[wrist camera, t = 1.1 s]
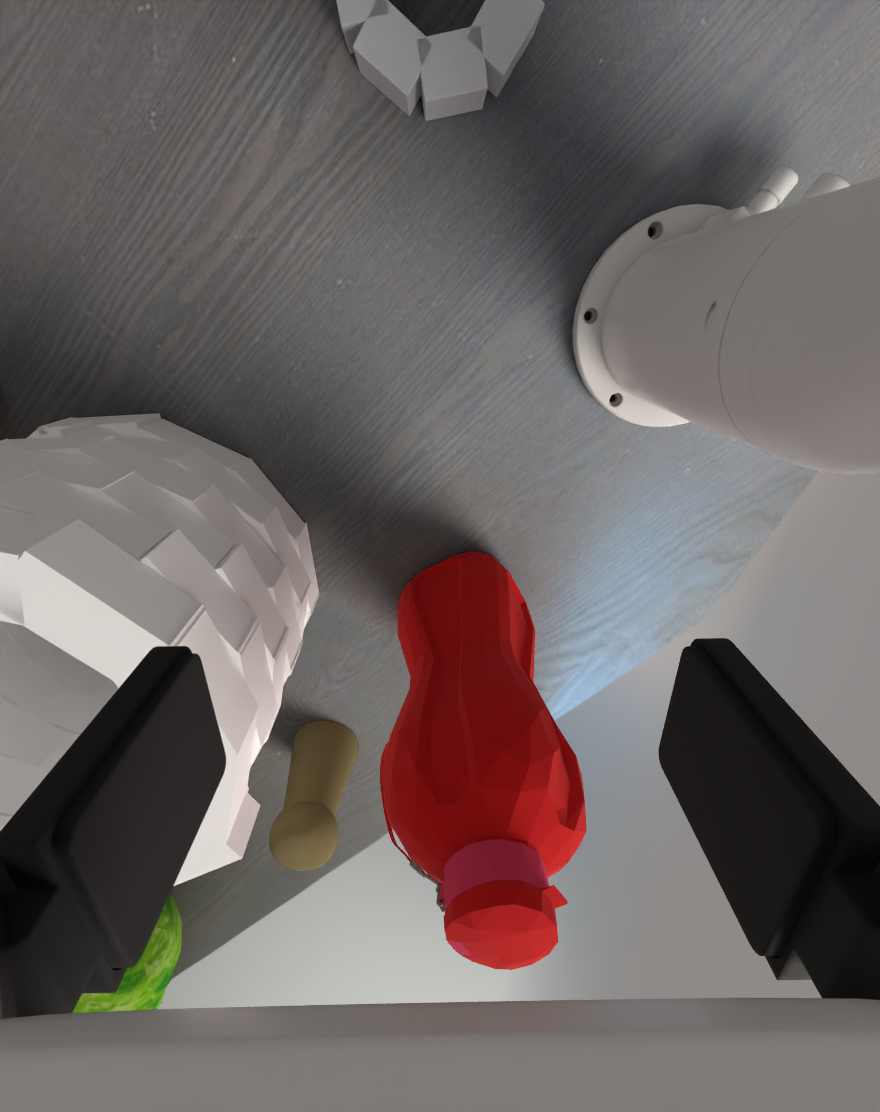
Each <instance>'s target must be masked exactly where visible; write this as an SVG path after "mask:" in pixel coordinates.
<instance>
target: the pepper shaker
mask: <svg viewBox="0 0 880 1112" xmlns="http://www.w3.org/2000/svg"><path fill="white" fill-rule="evenodd" d="M357 752H358V741H357V738H356V736H355V735H354V734H353V732H352V731H351V730H350V729H348V728H347V727H345V726H344V725H342V724H339V723H337V722H334V721H325V720H321V721H314V722H311V723H308V724H306V725H304V726H303V727H302V728H300V729H299V730H298V731H297V733H296V735H295V737H294V742H293V749H292V756H291V763H290V770H289V777H288V784H287V791H286V798H285V805H284V810H283V811H282V812H280V813H279V815H278V816H277V818H276V819H275V821H274V823H273V825H272V828H271V831H270V837H269V847H270V850H271V853H272V855H273V857H274V859H275V860H276V861H277V862H278V863H279V864H281V865H283V866H285V867H287V868H290V869H294V870H311V869H315V868H318V867H320V866H322V865H323V864H324V863H326V862H327V861H328V860H329V859H330V857H331V856H332V854H333V852H334V850H335V848H336V846H337V841H338V824H337V821H336V819H335V817H336V814H337V811H338V808H339V805H340V802H341V799H342V796H343V793H344V790H345V787H346V784H347V782H348V779H349V776H350V773H351V770H352V767H353V764H354V761H355V758H356V755H357Z"/></svg>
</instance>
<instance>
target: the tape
mask: <svg viewBox="0 0 880 1112" xmlns="http://www.w3.org/2000/svg"><path fill="white" fill-rule="evenodd" d="M336 2H337V7H338V13H339V18H340V23H341V27H342V30H343V33H344V37H345V40H346V43H347V46H348V49H349V53H350V54H352V53H355V57H356V60H357V63H358V67H359V70H360V73H361V74H362V75H363V76H364V77H365V78H367V79H368V80H369V81H370V82H371V83H372V84H373V85H374V86H376V87H377V88H378V89H379V90H380V91H381V92H382V93H383V94H385V95H386V96H387V97H388V98H389V99H390V100H391V101H392V102H394V103H395V104H396V105H397V106H398V107H399V108H400V109H401V110H403V111H404V112H405V113H406V114H407V115H408V116H410V115H411V113H412V111H413V109H414V108H415V106H416V104H417V102H418V100H419V98H420V96H421V97H422V103H423V110H424V117H425V121H429V120H434V119H438V118H443V117H448V116H453V115H457V114H462V113H467V112H471V111H476V110H481V109H482V108H483V104H484V100H485V96H486V92H487V90H488V91H489V92H491V93H492V94H493V95H494V96H495V97H496V98H497V97H498V95H499V93H500V92H501V90H502V88H503V86H504V85H505V83H506V81H507V80H508V78H509V76H510V75H511V73H512V71H513V69H514V68H515V66H516V64H517V63H518V61H519V59H520V57H521V56H522V54H523V52H524V51H525V49H526V47H527V46H528V44H529V42H530V40H531V39H532V37H533V35H534V33H535V30H536V27H537V25H538V22H539V19H540V17H541V14H542V11H543V9H544V6H545V4H544V2H543V0H485V1H484V3H483V5H482V7H481V9H480V11H479V12H478V14H477V16H476V18H475V20H474V22H473V23H472V25H471V27H467V28H462V29H458V30H453V31H449V32H444V33H440V34H435V35H431V36H425V35H424V34H423V33H422V32H421V31H420V30H419V29H418V28H417V27H416V26H415V25H414V24H413V23H412V22H410V21H409V20H408V19H407V18H406V17H405V16H404V15H403V14H402V13H401V12H400V11H399V10H398V9H397V8H396V7H395V6H394V5H393V4H391V3H390V2H389V1H388V0H336Z"/></svg>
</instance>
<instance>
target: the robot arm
mask: <svg viewBox="0 0 880 1112" xmlns="http://www.w3.org/2000/svg"><path fill="white" fill-rule="evenodd" d="M797 183H798V176H797V174H796V173H795V172H794V171H793V170H792V169H791V168H789V167H786V166H778V167H777V168H776V169H775V171H774V172H773V173H772V174H771V176H770V177H769V178H768V179H767V181H766V182H765V183H764V184H763V185H762V187H761V188H760V189H759V190H758V194H757V195H756V196H755V197H754V199H753V200H752V201H751V202H750V204H749V205H748V206H747V207H745V206H741V207H738V208H735V209H732V210H728V209H725V208H723V207H720V206H714V205H705V204H692V205H683V206H676V207H673V208H670V209H667V210H664V211H661V212H659V213H656V214H654V215H652V216H650V217H647V218H645V219H643V220H641V221H640V222H638V223H637V224H635V225H634V226H632V227H631V228H630V229H628V230H627V231H625V232H624V233H622V234H621V235H620V236H619V237H618V238H617V239H616V240H615V241H614V242H613V243H612V244H611V245H610V246H609V247H608V248H607V249H606V250H605V252H604V253H603V254H602V256H601V257H600V259H599V260H598V261H597V263H596V264H595V265H594V267H593V268H592V270H591V272H590V274H589V276H588V278H587V280H586V282H585V284H584V286H583V288H582V291H581V294H580V297H579V300H578V303H577V306H576V309H575V316H574V323H573V352H574V356H575V361H576V365H577V369H578V372H579V374H580V376H581V379H582V381H583V383H584V385H585V387H586V388H587V389H588V391H589V392H590V394H591V395H592V396H593V398H594V399H595V400H596V401H597V402H598V403H599V404H600V405H601V406H603V407H604V408H605V409H606V410H607V411H609V412H611V413H612V414H614V415H615V416H617V417H619V418H621V419H624V420H626V421H628V422H631V423H633V424H638V425H643V426H648V427H668V426H674V425H679V424H684V423H687V422H690V421H691V422H694V423H696V424H698V425H701V426H703V427H706V428H708V429H710V430H713V431H715V432H717V433H720V434H722V435H724V436H727V437H729V438H731V439H734V440H736V441H738V442H741V443H743V444H746V445H748V446H750V447H753V448H755V449H757V450H760V451H762V452H764V453H767V454H770V455H773V456H775V457H778V458H780V459H783V460H785V461H788V462H790V463H793V464H795V465H798V466H801V467H804V468H808V469H812V470H816V471H821V472H826V473H834V474H867V473H877V472H880V177H879V178H875V179H872V180H869V181H865V182H862V183H859V184H855V185H852V186H850V185H849V183H848V182H847V181H846V180H845V179H843V178H842V177H841V176H839V175H836V174H833V173H825V174H823V175H821V176H820V177H819V178H818V179H817V180H816V182H815V183H814V184H813V185H812V186H811V187H810V189H809V190H808V191H807V192H806V193H805V195H804V196H803V197H802V198H801V199H800V201H798V202H795V203H791V204H788V205H784V206H781V207H778V208H775V207H777V206H778V205H779V204H780V203H781V202H782V201H783V200H784V198H785V197H786V196H787V195H788V193H789V192H790V191H791V190H792V189H793V187H794V186H795V185H796V184H797ZM650 227H651V228H652V229H653V235H652V236H651V237H649V235H648V228H650ZM587 311H588V312H590V314H591V317H590V319H589V320H585V318H584V315H585V313H586V312H587ZM613 394H614V395H615V399H614V400H613V401H612V402H610V401H609V399H610V397H611V395H613ZM659 760H660V764H661V767H662V769H663V771H664V773H665V775H666V777H667V779H668V781H669V783H670V785H671V787H672V789H673V791H674V793H675V795H676V797H677V799H678V801H679V803H680V805H681V807H682V809H683V811H684V813H685V815H686V817H687V819H688V821H689V823H690V825H691V827H692V829H693V831H694V833H695V835H696V837H697V839H698V841H699V843H700V845H701V847H702V849H703V851H704V853H705V855H706V857H707V859H708V861H709V863H710V865H711V867H712V869H713V871H714V873H715V875H716V877H717V879H718V881H719V883H720V885H721V887H722V889H723V891H724V893H725V895H726V897H727V899H728V901H729V903H730V905H731V907H732V909H733V911H734V913H735V915H736V917H737V919H738V921H739V923H740V925H741V927H742V929H743V931H744V933H745V935H746V937H747V939H748V941H749V943H750V945H751V947H752V948H753V950H754V951H755V952H756V953H757V954H759V955H760V956H765V957H766V959H767V961H768V963H769V965H770V967H771V969H772V970H773V973H774V975H775V977H776V979H777V980H811V979H812V981H813V983H814V985H815V986H816V988H817V990H818V992H819V993H820V995H821V997H822V998H702V999H632V1000H631V999H628V1000H627V999H625V1000H559V1001H558V1000H557V1001H502V1002H450V1003H398V1004H351V1005H350V1004H349V1005H313V1006H312V1005H308V1006H273V1007H272V1006H270V1007H230V1008H193V1009H192V1008H191V1009H190V1008H189V1009H156V1010H134V1011H112V1012H90V1013H72V1012H73V1010H74V1008H75V1006H76V1004H77V1002H78V1000H79V998H80V997H81V995H82V993H116V991H117V989H118V987H119V985H120V983H121V981H122V978H123V976H124V974H125V972H126V970H127V968H132V967H134V966H135V965H136V964H137V963H138V961H139V960H140V958H141V957H142V955H143V953H144V950H145V948H146V946H147V944H148V942H149V939H150V937H151V935H152V933H153V930H154V928H155V926H156V924H157V922H158V919H159V917H160V915H161V913H162V910H163V908H164V906H165V904H166V902H167V899H168V897H169V895H170V893H171V890H172V888H173V886H174V884H175V882H176V879H177V877H178V875H179V873H180V870H181V868H182V866H183V864H184V862H185V859H186V857H187V855H188V853H189V850H190V848H191V846H192V844H193V842H194V839H195V837H196V835H197V833H198V830H199V828H200V826H201V824H202V822H203V819H204V817H205V815H206V813H207V810H208V808H209V806H210V804H211V802H212V799H213V797H214V795H215V793H216V790H217V788H218V786H219V784H220V781H221V779H222V777H223V775H224V772H225V767H226V753H225V749H224V746H223V742H222V738H221V734H220V730H219V726H218V722H217V719H216V715H215V711H214V707H213V703H212V699H211V696H210V692H209V688H208V684H207V680H206V676H205V672H204V669H203V665H202V661H201V658H200V656H199V655H198V654H196V653H192V651H191V650H190V648H189V647H187V646H157V647H154V648H152V649H151V650H150V651H149V652H148V654H147V655H146V656H145V657H144V658H143V660H142V661H141V662H140V663H139V664H138V666H137V667H136V668H135V669H134V670H133V672H132V673H131V674H130V675H129V677H128V678H127V679H126V680H125V681H124V683H123V684H122V685H121V686H120V687H119V689H118V690H117V691H116V692H115V693H114V695H113V696H112V697H111V698H110V699H109V701H108V702H107V703H106V704H105V705H104V707H103V708H102V709H101V710H100V712H99V713H98V714H97V715H96V716H95V718H94V719H93V720H92V721H91V722H90V724H89V725H88V726H87V727H86V728H85V730H84V731H83V732H82V733H81V734H80V736H79V737H78V738H77V739H76V740H75V742H74V743H73V744H72V745H71V747H70V748H69V749H68V750H67V751H66V753H65V754H64V755H63V756H62V757H61V759H60V760H59V761H58V762H57V763H56V765H55V766H54V767H53V768H52V769H51V771H50V772H49V773H48V774H47V775H46V777H45V778H44V779H43V780H42V782H41V783H40V784H39V785H38V786H37V788H36V789H35V790H34V791H33V792H32V794H31V795H30V796H29V797H28V798H27V800H26V801H25V802H24V803H23V804H22V806H21V807H20V808H19V809H18V810H17V812H16V813H15V814H14V815H13V817H12V818H11V819H10V820H9V821H8V823H7V824H6V825H5V826H4V827H3V829H2V830H1V831H0V1112H880V806H879V805H878V804H877V803H876V802H875V801H874V799H873V798H871V796H870V795H869V794H868V793H867V792H866V790H865V789H864V788H863V787H862V786H861V785H860V784H859V783H858V782H857V780H856V779H855V778H854V777H853V776H852V775H851V774H850V773H849V772H848V771H847V769H846V768H845V767H844V766H843V765H842V764H841V763H840V762H839V760H838V759H837V758H836V757H835V756H834V755H833V754H832V753H831V752H830V750H829V749H828V748H827V747H826V746H825V745H824V744H823V743H822V742H821V741H820V740H819V738H818V737H817V736H816V735H815V734H814V733H813V732H812V731H811V729H810V728H809V727H808V726H807V725H806V724H805V723H804V721H803V720H802V719H801V718H800V717H799V716H798V715H797V714H796V713H795V711H793V709H792V708H791V707H790V706H789V705H788V704H787V703H786V702H785V700H784V699H783V698H782V697H781V696H780V695H779V694H778V693H777V691H776V690H775V689H774V688H773V687H772V686H771V685H770V684H769V683H768V681H767V680H766V679H765V678H764V677H763V676H762V675H761V674H760V673H759V671H758V670H757V669H756V668H755V667H754V666H753V665H752V664H751V663H750V661H749V660H748V659H747V658H746V657H745V656H744V655H743V654H742V652H741V651H740V650H739V649H738V648H737V647H736V646H735V645H734V644H733V643H732V642H731V641H730V640H729V639H725V638H717V639H716V638H714V639H695V640H694V641H693V642H692V643H691V646H688V647H685V648H684V649H683V651H682V654H681V658H680V662H679V667H678V671H677V675H676V679H675V683H674V687H673V691H672V696H671V700H670V704H669V708H668V712H667V716H666V721H665V725H664V729H663V733H662V737H661V741H660V745H659Z"/></svg>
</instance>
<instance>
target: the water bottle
mask: <svg viewBox="0 0 880 1112" xmlns="http://www.w3.org/2000/svg"><path fill="white" fill-rule="evenodd" d="M398 637H399V640H400V644H401V647H402V650H403V654H404V657H405V660H406V663H407V667H408V670H409V673H410V677H411V680H410V689H409V692H408V694H407V697H406V699H405V701H404V704H403V706H402V709H401V711H400V713H399V716H398V718H397V721H396V723H395V725H394V728H393V730H392V733H391V735H390V739H389V742H388V743H387V744H386V746H385V749H384V751H383V754H382V758H381V766H380V784H381V793H382V802H383V807H384V814H385V818H386V823H387V827H388V831H389V834H390V837H391V840H392V842H393V843H394V845H395V846H396V847H397V848H398V849H399V850H400V851H401V852H402V853H403V854H404V855H405V856H406V857H407V859H408V860H409V861H410V865H411V866H412V868H413V869H414V870H416V871H417V872H418V873H419V874H420V875H422V876H423V877H426V878H428V879H429V880H431V881H432V882H433V883H436V885H437V889H436V891H437V893H438V894H437V905H438V906H439V907H440V908H441V910H442V912H445V915H444V925H445V926H444V928H445V933H446V940H447V941H448V943H449V944H450V945H451V946H452V947H453V949H454V950H455V951H456V952H458V953H459V954H460V955H463V957H465V958H467V959H469V960H471V961H473V962H476V963H479V964H482V965H485V966H488V967H491V968H494V969H509V970H512V969H516V968H520V967H524V966H528V965H532V964H534V963H535V962H537V961H539V960H540V959H542V958H543V957H545V956H547V955H548V954H549V953H550V952H551V951H552V949H553V948H554V947H555V945H556V944H557V943H558V934H557V923H556V915H555V908H558V907H560V906H563V905H565V904H567V900H566V899H565V898H564V897H563V895H562V894H561V893H560V892H559V891H558V889H557V888H556V887H555V886H554V885H553V886H549V883H548V877H549V876H551V875H553V874H555V873H557V872H558V871H559V870H560V869H562V867H564V866H565V865H566V864H567V863H568V862H569V860H570V859H571V857H572V856H573V854H574V853H575V852H576V850H577V849H578V847H579V846H580V843H581V841H582V839H583V837H584V835H585V833H586V815H585V802H584V801H585V800H584V791H583V782H582V775H581V772H580V768H579V765H578V761H577V758H576V755H575V754H574V752H573V750H572V749H571V747H570V746H569V744H568V743H567V741H566V739H565V738H564V736H563V734H562V733H561V731H560V730H559V728H558V727H557V725H556V723H555V721H554V719H553V718H552V716H551V714H550V712H549V710H548V709H547V707H546V705H545V703H544V701H543V699H542V698H541V696H540V694H539V692H538V690H537V688H536V687H535V685H534V683H533V673H534V648H535V628H534V625H533V622H532V619H531V615H530V613H529V610H528V608H527V605H526V602H525V600H524V598H523V596H522V595H521V593H520V591H519V589H518V587H517V586H516V584H515V582H514V580H513V578H512V577H511V575H510V573H509V572H508V571H507V570H506V569H505V568H504V567H503V566H502V565H501V564H500V563H499V562H498V561H497V560H496V559H495V558H494V557H492V556H491V555H489V554H485V553H480V552H475V551H472V552H467V553H463V554H458V555H454V556H451V557H449V558H447V559H445V560H443V561H442V562H440V563H438V564H436V565H434V566H432V567H429V568H427V569H425V570H422V571H421V572H420V573H419V574H418V575H417V576H415V577H414V578H413V579H412V580H411V581H410V582H409V583H408V584H406V586H405V587H404V589H403V591H402V594H401V597H400V599H399V602H398ZM391 826H392V827H393V829H394V831H395V833H396V834H397V836H398V838H399V839H400V841H401V843H402V844H403V846H404V848H405V850H406V851H407V853H408V855H409V857H410V858H411V860H412V861H411V860H410V858H409V857H408V856H407V855H406V854H405V853H404V851H403V850H401V849H400V847H399V846H398V845H397V843H396V841H395V839H394V836H393V832H392V828H391ZM422 869H423V870H425V871H426V872H427V874H428V875H427V874H426V873H425V872H424V871H423V870H422Z"/></svg>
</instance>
